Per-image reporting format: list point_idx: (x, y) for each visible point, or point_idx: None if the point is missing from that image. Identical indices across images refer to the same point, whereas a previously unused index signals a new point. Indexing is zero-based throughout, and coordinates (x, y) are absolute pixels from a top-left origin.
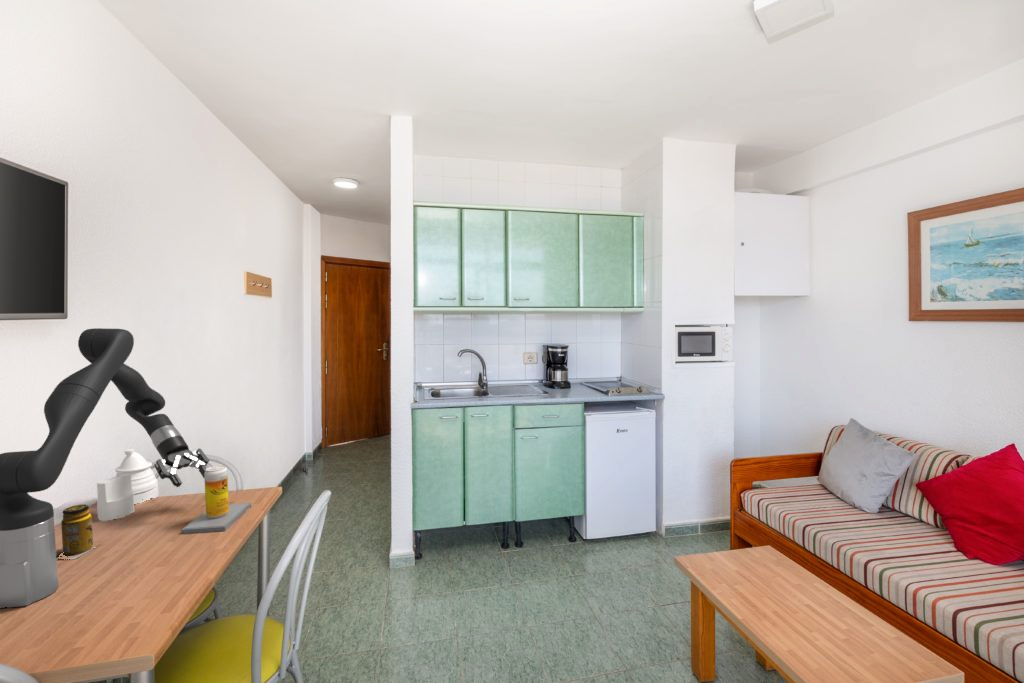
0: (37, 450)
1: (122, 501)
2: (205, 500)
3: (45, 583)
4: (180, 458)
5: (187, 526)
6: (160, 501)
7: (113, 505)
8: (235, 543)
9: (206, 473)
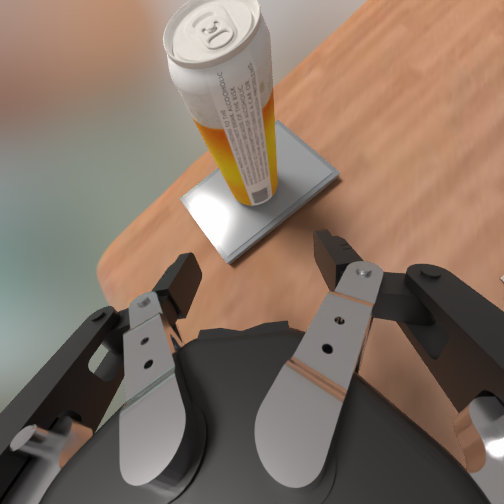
0: None
1: None
2: (274, 163)
3: None
4: (251, 422)
5: (324, 178)
6: None
7: None
8: (294, 69)
9: (266, 27)
